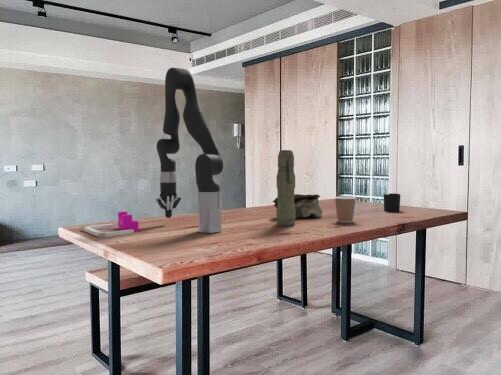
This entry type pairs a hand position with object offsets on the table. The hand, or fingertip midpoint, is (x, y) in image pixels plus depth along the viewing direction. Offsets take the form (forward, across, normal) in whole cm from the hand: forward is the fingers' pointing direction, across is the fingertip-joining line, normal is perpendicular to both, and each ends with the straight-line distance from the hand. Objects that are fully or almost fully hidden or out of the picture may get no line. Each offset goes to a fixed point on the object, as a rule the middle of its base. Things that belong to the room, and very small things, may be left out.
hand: (168, 217), depth 199 cm
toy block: (+4, -20, 0) cm, 21 cm away
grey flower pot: (+3, +71, -49) cm, 86 cm away
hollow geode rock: (+3, +64, -23) cm, 68 cm away
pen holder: (+2, +125, -41) cm, 132 cm away
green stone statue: (+3, +42, -37) cm, 56 cm away
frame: (+4, -29, 0) cm, 29 cm away
